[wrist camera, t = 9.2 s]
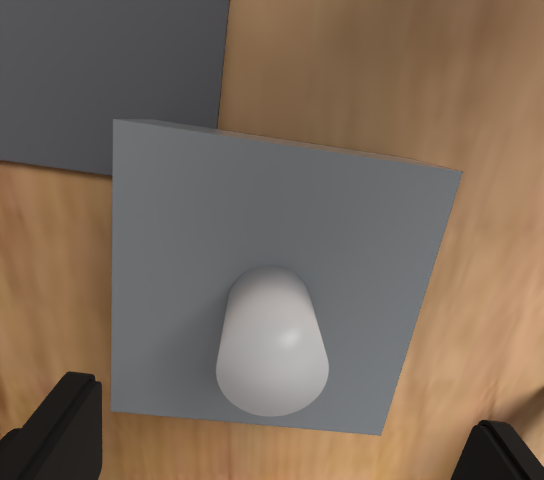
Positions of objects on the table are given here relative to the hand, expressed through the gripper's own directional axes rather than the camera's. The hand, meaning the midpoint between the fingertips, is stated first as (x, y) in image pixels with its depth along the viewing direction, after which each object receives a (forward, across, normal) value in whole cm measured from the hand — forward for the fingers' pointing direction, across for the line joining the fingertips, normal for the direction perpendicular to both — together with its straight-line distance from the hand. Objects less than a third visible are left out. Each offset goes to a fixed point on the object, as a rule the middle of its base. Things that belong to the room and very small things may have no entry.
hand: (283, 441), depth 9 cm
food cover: (+15, 0, +1) cm, 15 cm away
